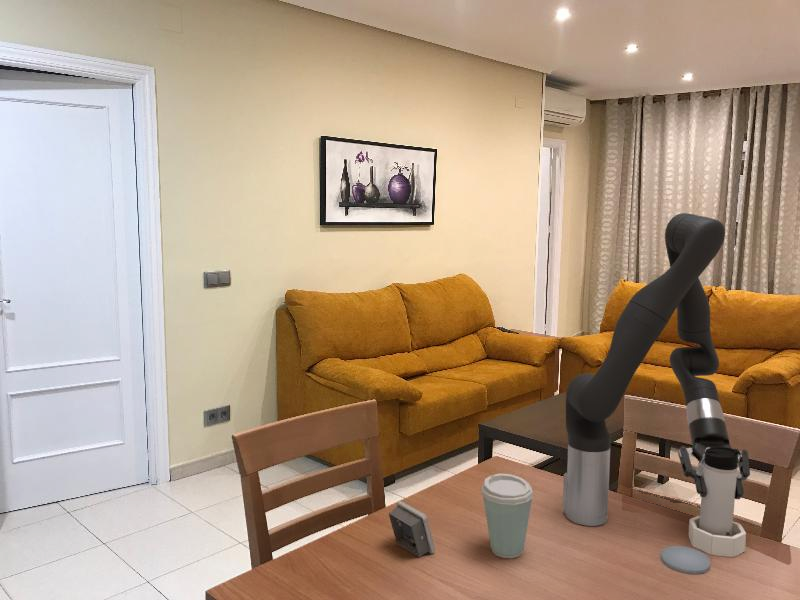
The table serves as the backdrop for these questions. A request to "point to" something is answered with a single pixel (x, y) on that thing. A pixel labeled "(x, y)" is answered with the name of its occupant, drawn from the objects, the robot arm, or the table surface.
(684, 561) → the coaster
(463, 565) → the table surface
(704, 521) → the travel mug
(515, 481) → the disposable coffee cup
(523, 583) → the table surface
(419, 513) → the electrical switch
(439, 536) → the table surface
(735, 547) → the collar
